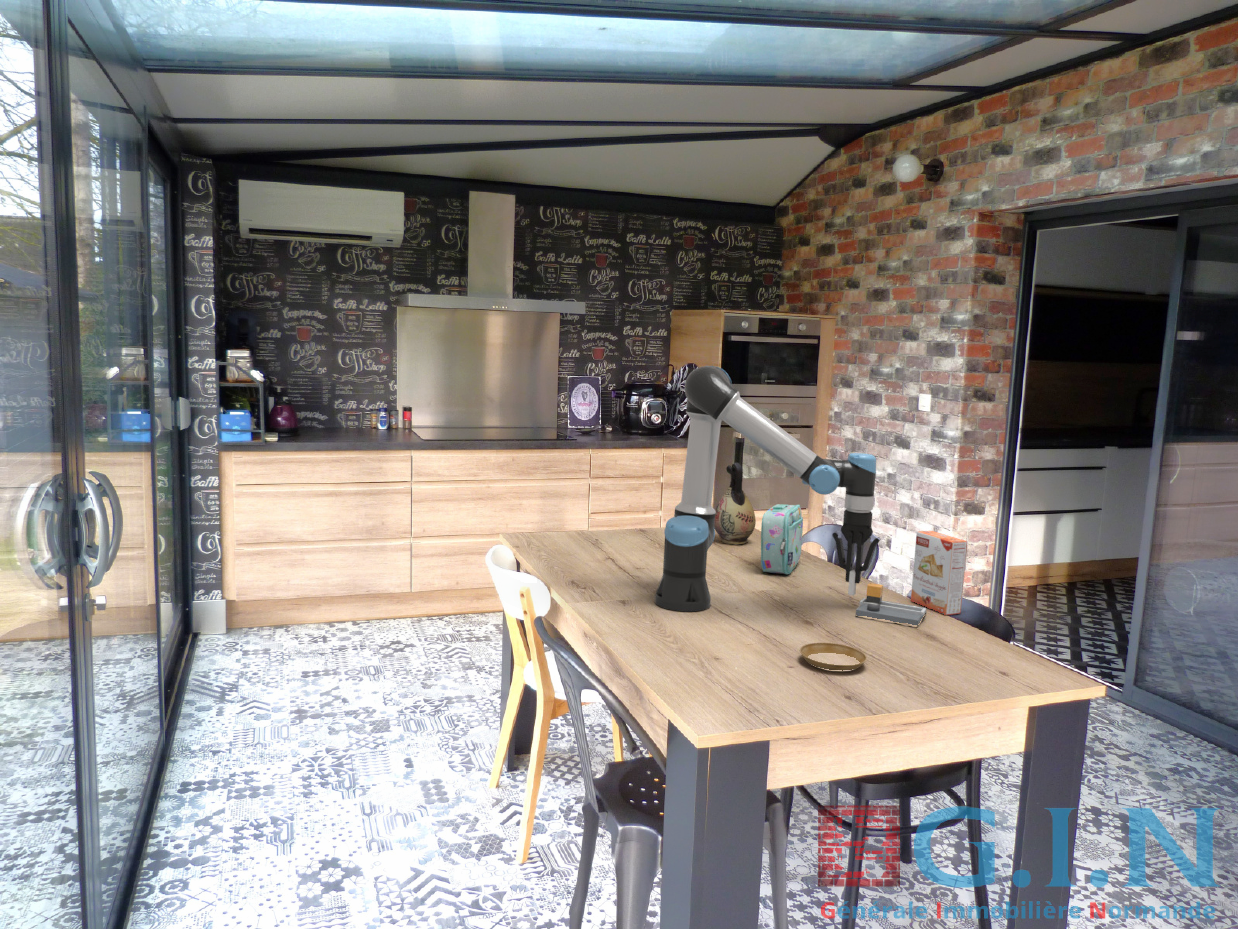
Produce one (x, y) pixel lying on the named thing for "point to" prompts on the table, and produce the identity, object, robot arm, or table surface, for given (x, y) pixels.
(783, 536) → the lunch box
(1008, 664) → the table surface
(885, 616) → the console
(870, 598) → the fader tab
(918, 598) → the cracker box
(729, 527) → the ceramic jug
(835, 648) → the plant saucer
